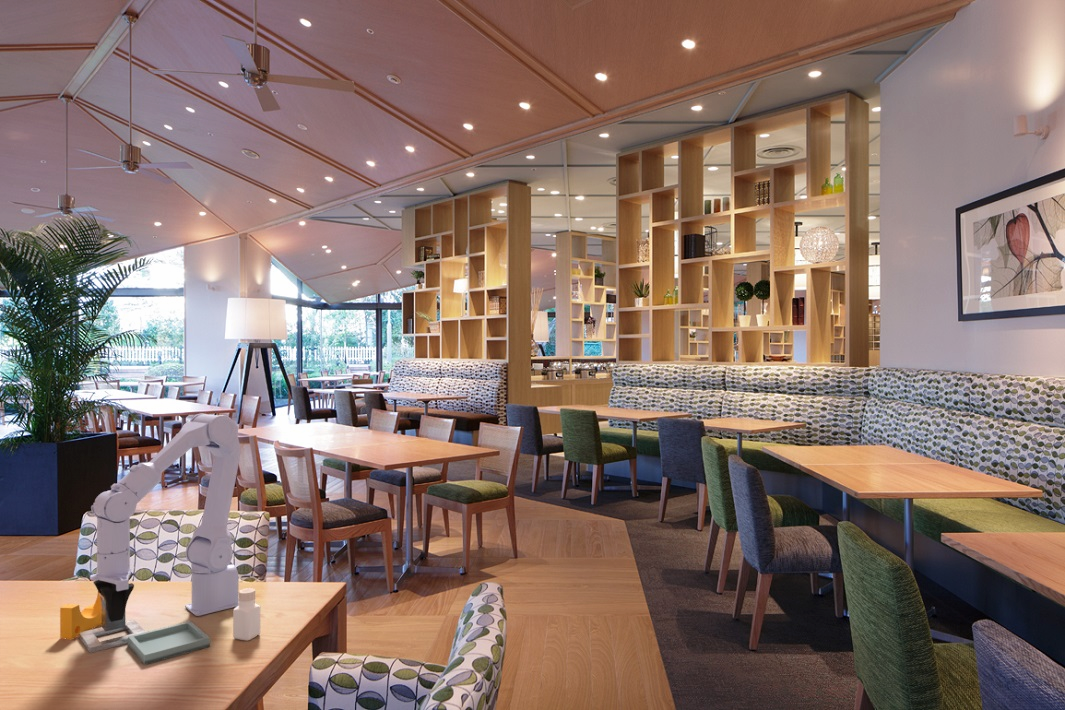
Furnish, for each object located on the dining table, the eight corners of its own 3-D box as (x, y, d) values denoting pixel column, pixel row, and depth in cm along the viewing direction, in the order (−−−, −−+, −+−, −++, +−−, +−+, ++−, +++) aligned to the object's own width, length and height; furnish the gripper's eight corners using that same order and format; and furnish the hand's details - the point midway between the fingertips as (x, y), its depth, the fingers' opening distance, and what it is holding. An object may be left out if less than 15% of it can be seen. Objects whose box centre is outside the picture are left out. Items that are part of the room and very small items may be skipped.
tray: (190, 629, 145) (190, 621, 145) (209, 646, 136) (209, 637, 136) (128, 645, 137) (128, 636, 137) (144, 664, 128) (144, 655, 128)
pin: (122, 621, 143) (122, 587, 143) (127, 627, 140) (127, 592, 140) (99, 626, 140) (99, 592, 140) (104, 632, 137) (104, 597, 137)
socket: (134, 624, 147) (134, 619, 147) (147, 638, 140) (147, 633, 140) (79, 637, 140) (79, 632, 140) (90, 652, 133) (90, 647, 133)
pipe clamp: (97, 616, 152) (97, 587, 152) (115, 617, 151) (115, 588, 151) (52, 638, 140) (52, 607, 140) (71, 640, 139) (71, 608, 139)
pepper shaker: (231, 639, 140) (232, 592, 140) (246, 631, 144) (246, 586, 144) (247, 642, 138) (247, 595, 138) (261, 634, 142) (261, 588, 142)
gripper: (82, 546, 143) (82, 612, 143) (99, 562, 132) (99, 632, 132) (121, 540, 148) (121, 603, 148) (140, 554, 137) (140, 623, 137)
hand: (113, 616), depth 140 cm, fingers closed on pin, 4 cm apart
